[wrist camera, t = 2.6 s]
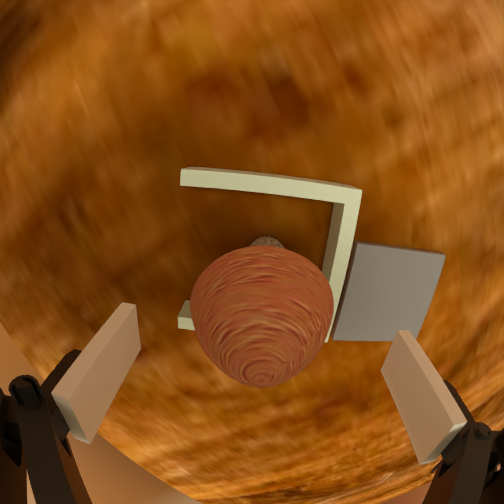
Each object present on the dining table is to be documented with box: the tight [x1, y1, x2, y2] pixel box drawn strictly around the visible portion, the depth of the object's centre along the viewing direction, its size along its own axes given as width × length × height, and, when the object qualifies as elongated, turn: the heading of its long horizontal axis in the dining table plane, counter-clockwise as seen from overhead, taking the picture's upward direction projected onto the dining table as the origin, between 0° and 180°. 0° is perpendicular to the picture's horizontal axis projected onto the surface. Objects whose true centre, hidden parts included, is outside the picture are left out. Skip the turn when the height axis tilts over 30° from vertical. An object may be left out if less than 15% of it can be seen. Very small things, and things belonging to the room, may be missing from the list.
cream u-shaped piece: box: [178, 167, 362, 342], centre depth 24 cm, size 13×13×3 cm
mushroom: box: [190, 235, 334, 387], centre depth 18 cm, size 8×8×15 cm
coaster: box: [331, 241, 446, 341], centre depth 26 cm, size 10×10×1 cm
